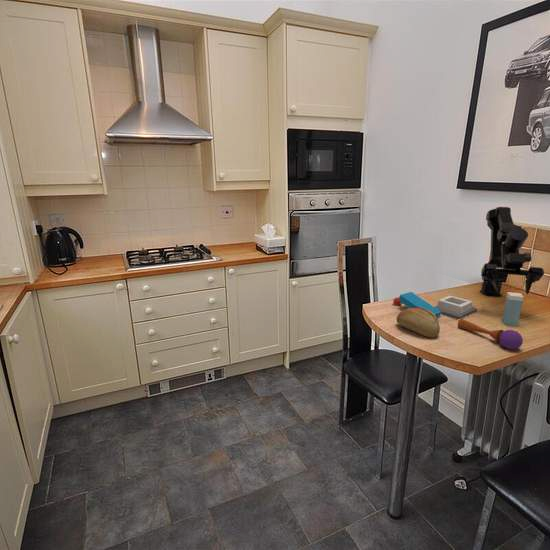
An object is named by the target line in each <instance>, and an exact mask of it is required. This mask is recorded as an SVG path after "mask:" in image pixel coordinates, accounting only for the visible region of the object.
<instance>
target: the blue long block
mask: <svg viewBox="0 0 550 550" xmlns="http://www.w3.org/2000/svg"><path fill="white" fill-rule="evenodd" d="M392 301H393V302H392V303H393V305H394V304H395V305H394V306H397V305H399V306H401V305H404V306H406V307H407V308H411V307H416V306H417V307H422V308H425V309H428V310H430V311H431V312H433V313H434V314H435V315H436V317H437V318H438V317H440V316H441V315H442V314H441V311H439V310H438V309H436V308H435V306H434V305H432V304H431V303H429V302H428V301H426V300H425V299H423V298H421V297H420V296H418V295H417V294H416V293H414V292H413V291H410V292H405V293H403V294H400V295H399V296H398V297H395V298H393V300H392Z"/></svg>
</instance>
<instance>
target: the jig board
mask: <svg viewBox="0 0 550 550" xmlns="http://www.w3.org/2000/svg"><path fill="white" fill-rule="evenodd" d="M434 307H435V308H436V309H438V310H439V311H441V314H440V315H442V314H443V316H445V315H446V317H449V316H450V317H449V318H452V317H453V318H452V319H455V318H456V320H458V319H461V318H462V319H464V318H466V317H468V316H470V315H472V314H474V313H476V312H478V308H477V307H475V306H473V301H472V300H468V299H465V298H460V297H458V296H457V297H456V296H454V295H447V296H445V297H442V298H440V299H438V301H437V305H435V306H434ZM469 314H470V315H469ZM465 316H466V317H465ZM463 317H464V318H463Z"/></svg>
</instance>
